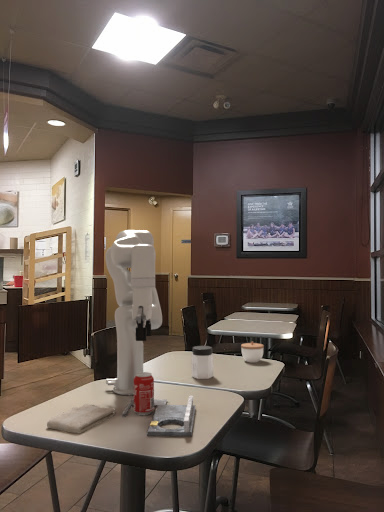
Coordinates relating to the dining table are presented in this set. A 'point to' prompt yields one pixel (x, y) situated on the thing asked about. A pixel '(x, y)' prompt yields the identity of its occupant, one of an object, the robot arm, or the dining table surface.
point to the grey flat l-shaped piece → (131, 404)
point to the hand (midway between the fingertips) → (143, 338)
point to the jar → (202, 362)
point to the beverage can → (143, 393)
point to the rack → (173, 419)
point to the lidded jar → (252, 351)
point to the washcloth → (80, 418)
